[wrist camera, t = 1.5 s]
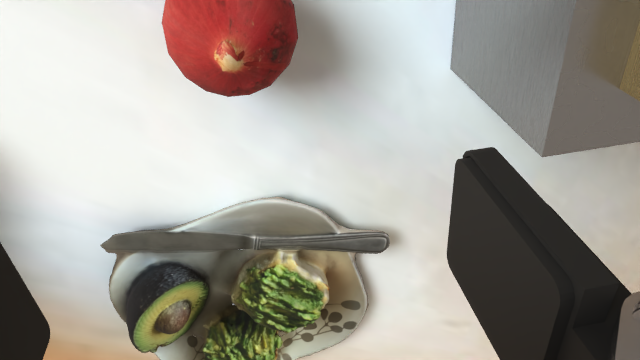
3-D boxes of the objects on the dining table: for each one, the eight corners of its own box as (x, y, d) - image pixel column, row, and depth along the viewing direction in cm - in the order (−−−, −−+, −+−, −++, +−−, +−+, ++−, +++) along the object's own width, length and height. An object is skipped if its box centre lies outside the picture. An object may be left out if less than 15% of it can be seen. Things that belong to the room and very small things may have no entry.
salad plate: (353, 130, 30) (372, 170, 27) (409, 306, 41) (428, 352, 37) (67, 235, 31) (46, 288, 27) (193, 381, 42) (190, 434, 38)
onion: (301, -34, 24) (331, 10, 18) (270, 73, 27) (286, 145, 20) (181, -74, 22) (165, -41, 16) (161, 45, 25) (141, 115, 19)
